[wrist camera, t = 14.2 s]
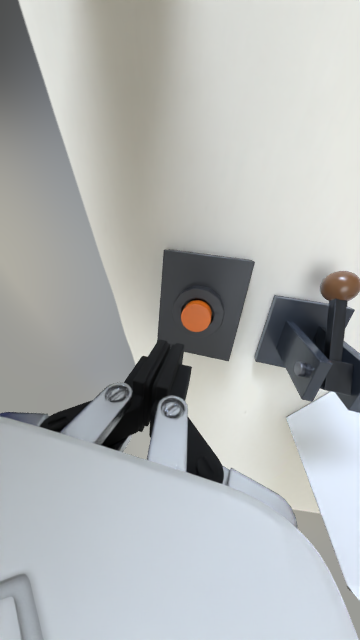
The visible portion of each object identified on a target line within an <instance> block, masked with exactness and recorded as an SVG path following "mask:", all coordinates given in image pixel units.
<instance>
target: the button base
mask: <svg viewBox="0 0 360 640" xmlns="http://www.w3.org/2000/svg"><path fill="white" fill-rule="evenodd" d="M254 263H255V262H254V261H252V260H247V259H239V258H231V257H224V256H216V255H209V254H201V253H193V252H186V251H178V250H170V249H169V250H164V257H163V270H162V284H161V298H160V312H159V326H158V339H157V342H158V340H159V339H161V340H166V341H168V343H169V344H170V348H171V346H172V344H174V345H175V344H176V343H180V344H184V352H188V353H193V354H197V355H202V356H207V357H211V358H216V359H221V360H225V361H229V359H230V355H231V351H232V347H233V343H234V339H235V336H236V332H237V328H238V324H239V320H240V317H241V313H242V309H243V305H244V301H245V298H246V294H247V290H248V286H249V282H250V278H251V275H252V271H253V267H254ZM194 300H201V301H203V302H205V303H207V304H208V305H209V307H210V309H211V312H212V316H211V322H210V324H209V326H208V327H207V328H206V329H205V330H203V331H200V332H193V331H190V330H188V329H187V328H186V327H185V326H184V325H183V323H182V321H181V314H182V311H183V309H184V308H185V306H186V305H187V304H188V303H189V302H191V301H194Z"/></svg>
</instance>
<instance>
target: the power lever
mask: <svg viewBox="0 0 360 640" xmlns="http://www.w3.org/2000/svg"><path fill="white" fill-rule="evenodd" d="M320 292H321V294H322V296H323V297H324V298H325V299H327V300H328V301H329V309H328V318H327V327H326V336H325V345H324V355H325V356H326V357H327V358H328V360H329V361H330V362H331V363H332V366H331V368H330V370H329V372H328V374H327V376H326V378H325V379H324V381H323V383H322V385H321V387H320V388H321V389H323V390H327V391H332V392H336V393H341V394H345V395H351V388H352V377H353V366H354V365H353V364H349V363H344V362H342V351H343V341H344V331H345V321H346V311H347V301H349V300H351V299H353V298H354V297H356V296H357V295H358V293H359V292H360V279H359V277H358V276H357V275H355V274H354V273H352V272H348V271H338V272H334V273H332V274H330V275H328V276H327V277H326V278H325V279H324V280H323V281H322V283H321V286H320Z"/></svg>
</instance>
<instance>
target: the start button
mask: <svg viewBox="0 0 360 640" xmlns="http://www.w3.org/2000/svg"><path fill="white" fill-rule="evenodd" d="M211 316H212V312H211V309H210V307H209V305H208V304H207V303H205V302H203V301H201V300H194V301H191V302H189V303H188V304H187V305H186V306H185V308H184V309H183V311H182V314H181V321H182V323H183V325H184V326H185V327H186V328H187V329H188V330H190V331H193V332H200V331H203V330H205V329H206V328H207V327H208V326H209V324H210V322H211Z"/></svg>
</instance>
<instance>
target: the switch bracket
mask: <svg viewBox="0 0 360 640" xmlns="http://www.w3.org/2000/svg"><path fill="white" fill-rule="evenodd" d="M328 309H329V304H327V303H321V302H315V301H308V300H302V299H295V298H289V297H283V296H276V295H275V296H274V299H273V302H272V305H271V308H270V311H269V314H268V317H267V320H266V323H265V326H264V329H263V332H262V336H261V339H260V342H259V345H258V348H257V351H256V354H255V361H256V362H261V363H265V364H270V365H275V366H280V367H284V368H286V369H287V371H288V373H289V375H290V377H291V379H292V381H293V383H294V385H295V387H296V389H297V391H298V393H299V395H300V397H301V399H303V400H307V401H311V402H312V401H313V400H314V398H315V396H316V394H317V393H318V391H319V389H320V387H321V385H322V383H323V381H324V379H325V378H326V376H327V374H328V372H329V370H330V368H331V366H332V363H331V362H330V361H329V360H328V358H327V357H326V356H325V355H324V345H325V336H326V327H327V318H328ZM353 312H354V309H352V308H350V307H347V311H346V321H345V328H346V326H347V324H348V322H349V320H350V318H351V316H352V314H353ZM342 362H344V363H349V364H353V365H354V366H353V377H352V388H351V395H345V394H341V393H336V392H335V393H336V395H337V396H338V397H339V399H340V400H341V401H342V403H343V404H344V405H345V407H346V408H347V409H348V410H349V411H353V412H358V413H360V353H358V352H357V351H356V350H355V349H353V348H352V347H351V346H350V345H348V344H347V343H346V342H345V341H343V351H342Z"/></svg>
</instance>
